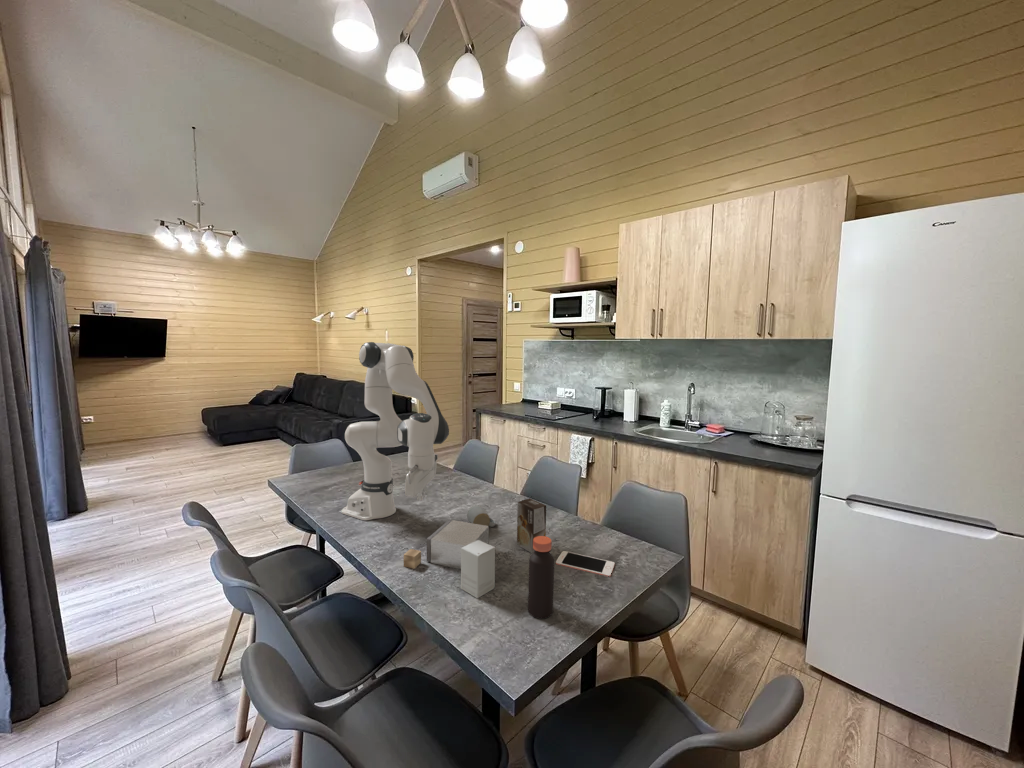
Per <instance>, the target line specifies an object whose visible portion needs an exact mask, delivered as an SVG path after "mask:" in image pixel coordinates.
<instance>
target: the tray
mask: <svg viewBox="0 0 1024 768" xmlns="http://www.w3.org/2000/svg"><path fill="white" fill-rule="evenodd" d="M452 520H453V519H448V520H446V522H444V524H442V525H441V526H440V527H438V529H437V530H435V531H434V532H433V533H432V534H431V535H430V536H428V537H427V538H426V562H428V563H429V562H430V563H431V539H432V538H433V537H434V536H435V535H436V534H437V533H439V532H440V531H441V530H442V529H443V528H444V527H445V526H447V525H448V524H449V523H450V522H451V521H452Z"/></svg>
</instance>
